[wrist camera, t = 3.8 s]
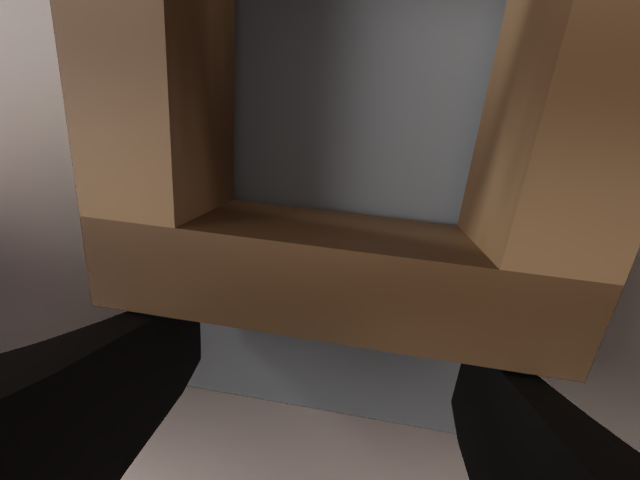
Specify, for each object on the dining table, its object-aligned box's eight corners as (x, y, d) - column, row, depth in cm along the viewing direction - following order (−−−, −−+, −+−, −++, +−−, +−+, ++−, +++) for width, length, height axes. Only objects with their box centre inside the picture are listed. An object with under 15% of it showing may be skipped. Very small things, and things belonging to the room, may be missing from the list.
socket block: (517, 305, 9) (584, 382, 6) (169, 257, 10) (92, 305, 7) (667, -192, 6) (934, -483, 3) (144, -188, 7) (-8, -406, 4)
